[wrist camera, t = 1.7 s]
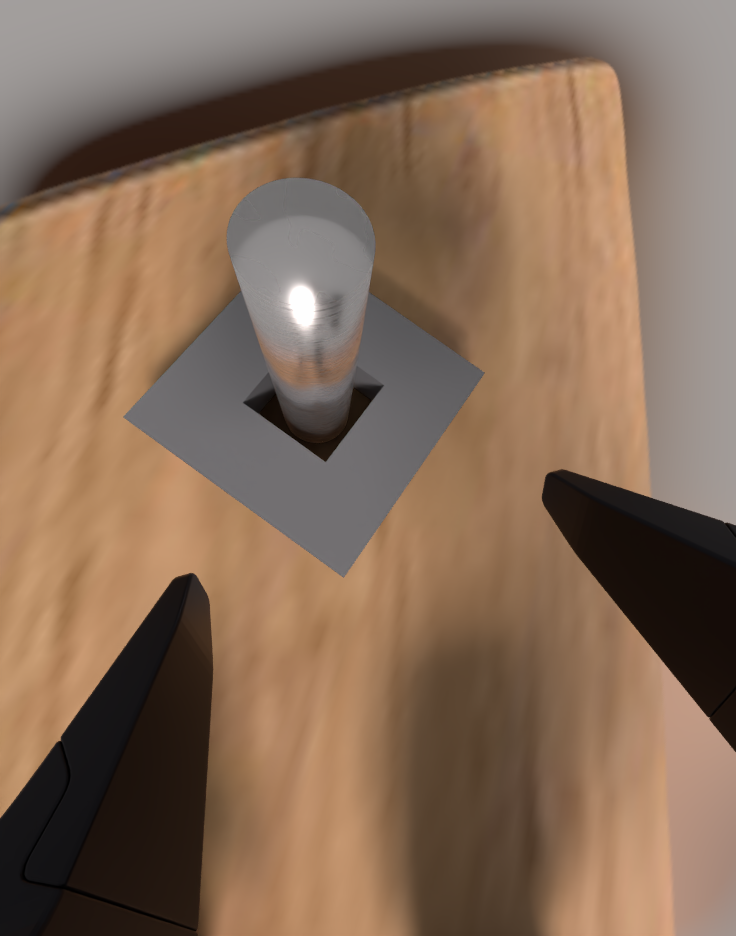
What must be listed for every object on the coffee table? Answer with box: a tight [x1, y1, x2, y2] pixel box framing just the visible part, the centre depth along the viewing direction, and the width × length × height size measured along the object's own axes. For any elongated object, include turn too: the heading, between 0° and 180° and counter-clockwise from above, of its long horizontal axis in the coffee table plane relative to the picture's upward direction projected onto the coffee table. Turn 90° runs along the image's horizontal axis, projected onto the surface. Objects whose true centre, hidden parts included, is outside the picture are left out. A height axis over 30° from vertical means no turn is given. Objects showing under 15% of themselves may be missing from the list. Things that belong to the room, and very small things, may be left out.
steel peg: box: [227, 178, 375, 443], centre depth 17 cm, size 4×4×14 cm
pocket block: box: [124, 291, 484, 578], centre depth 23 cm, size 14×14×3 cm
